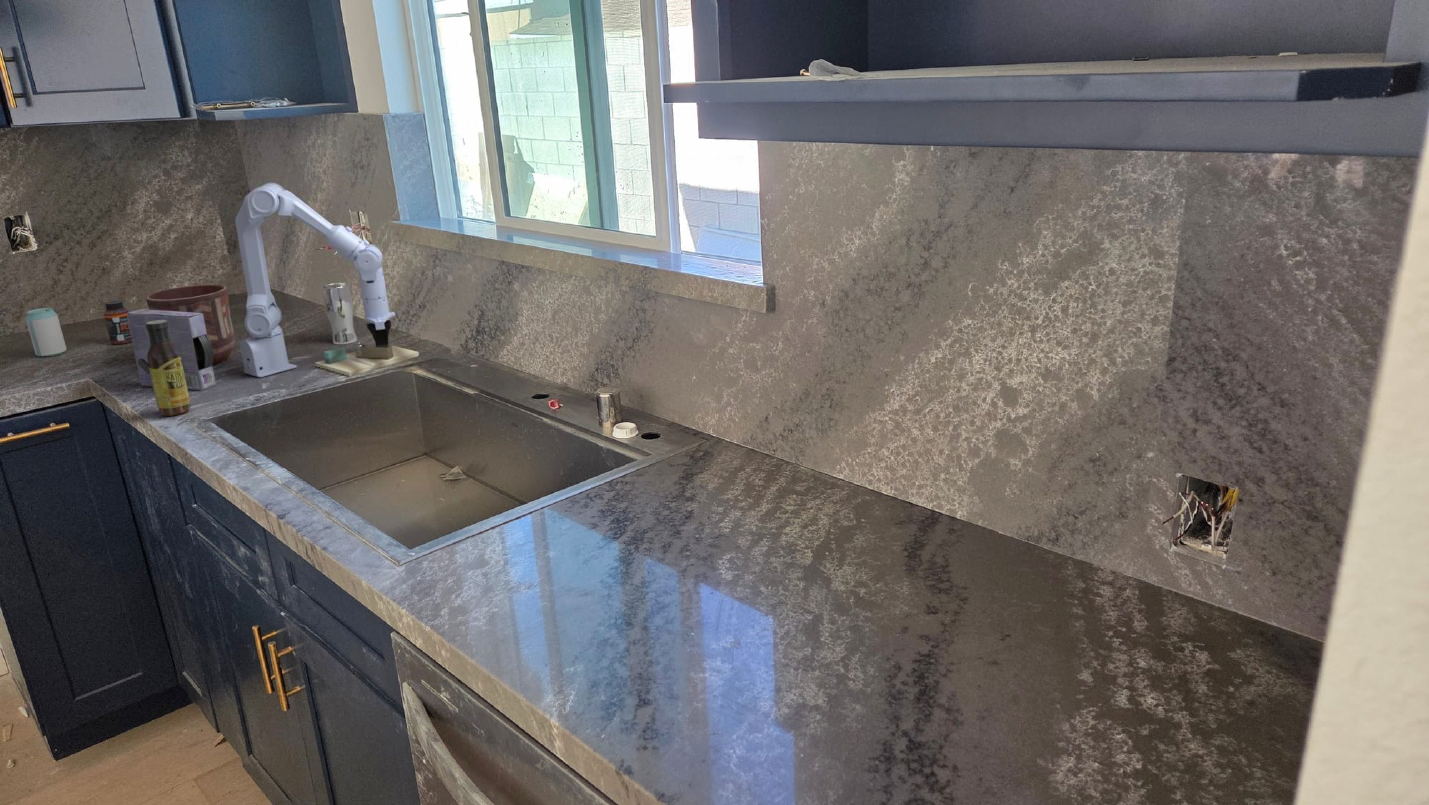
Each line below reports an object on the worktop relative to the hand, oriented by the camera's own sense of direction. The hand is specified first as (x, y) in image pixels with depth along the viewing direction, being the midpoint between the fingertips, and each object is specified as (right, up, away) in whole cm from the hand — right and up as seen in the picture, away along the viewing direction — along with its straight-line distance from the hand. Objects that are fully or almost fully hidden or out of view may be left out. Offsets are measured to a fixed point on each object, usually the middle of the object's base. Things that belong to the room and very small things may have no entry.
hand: (383, 351), depth 245 cm
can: (-95, 0, +22) cm, 98 cm away
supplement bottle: (-81, +4, +30) cm, 87 cm away
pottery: (-48, -2, +7) cm, 48 cm away
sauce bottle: (-34, -15, -30) cm, 48 cm away
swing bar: (-2, -1, -1) cm, 3 cm away
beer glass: (-16, +3, +19) cm, 25 cm away
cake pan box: (-43, -9, -12) cm, 45 cm away
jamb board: (-4, -2, 0) cm, 4 cm away
